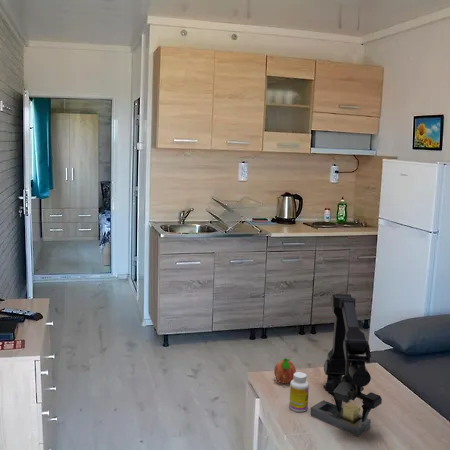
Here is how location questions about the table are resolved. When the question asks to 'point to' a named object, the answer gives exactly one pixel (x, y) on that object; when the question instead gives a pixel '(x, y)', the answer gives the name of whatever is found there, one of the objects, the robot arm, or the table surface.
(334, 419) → the grey block holder tray
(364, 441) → the table surface
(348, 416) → the olive grained block
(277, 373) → the fruit
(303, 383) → the supplement bottle
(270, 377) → the table surface
